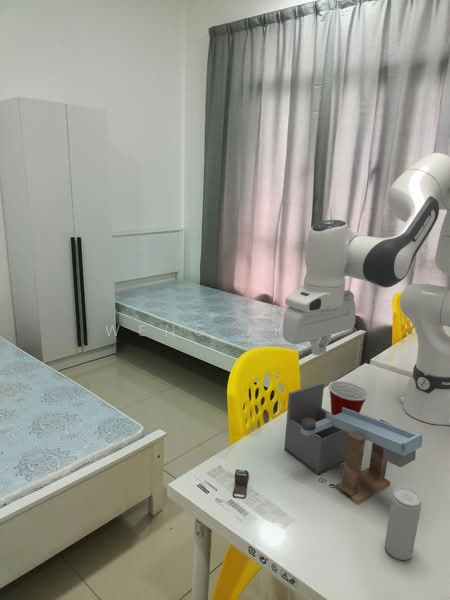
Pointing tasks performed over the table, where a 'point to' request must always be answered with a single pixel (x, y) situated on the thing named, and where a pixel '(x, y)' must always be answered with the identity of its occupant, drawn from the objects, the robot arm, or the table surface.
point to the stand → (367, 480)
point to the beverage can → (402, 523)
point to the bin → (313, 448)
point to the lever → (371, 434)
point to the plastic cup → (346, 396)
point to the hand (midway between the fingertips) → (318, 353)
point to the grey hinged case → (241, 483)
